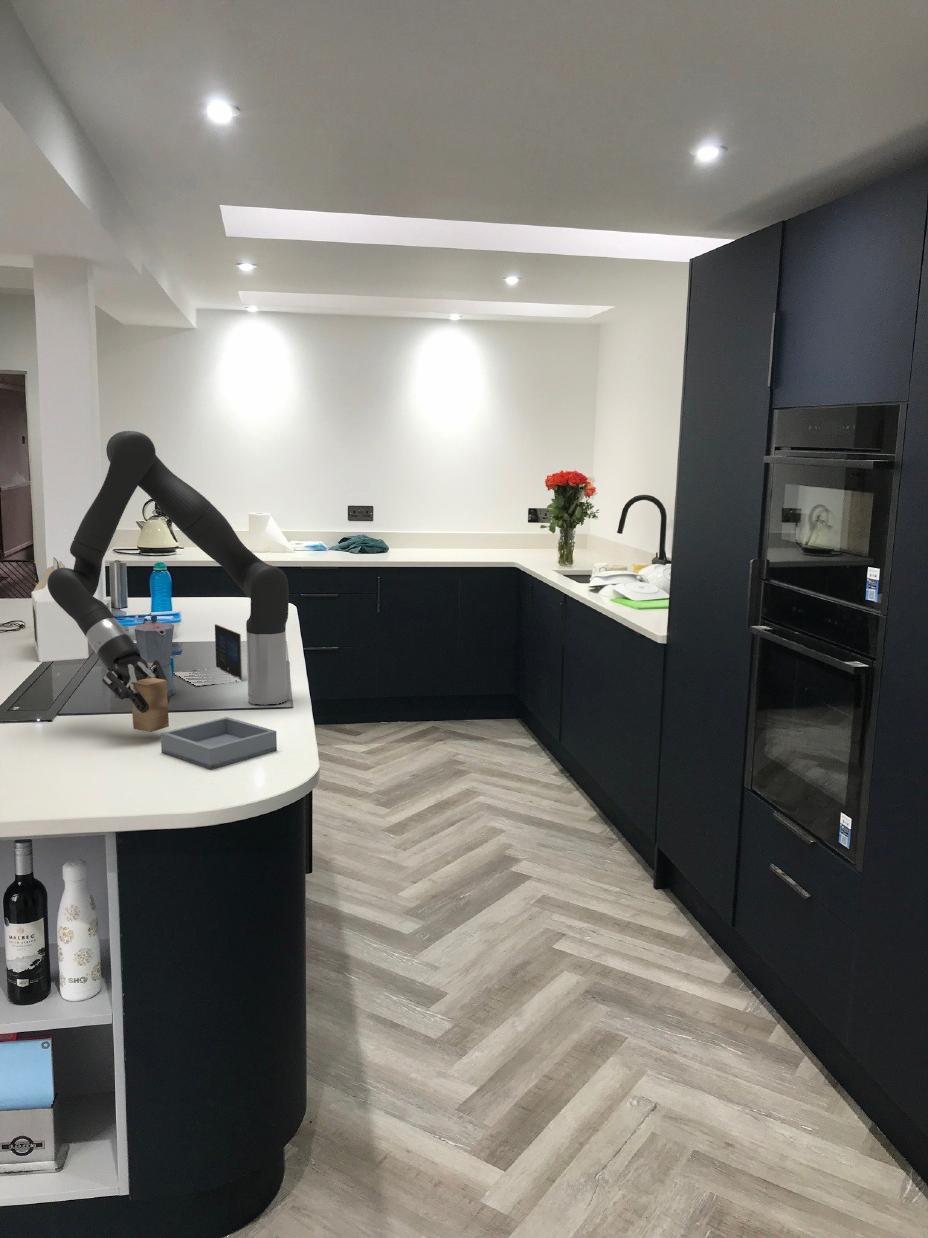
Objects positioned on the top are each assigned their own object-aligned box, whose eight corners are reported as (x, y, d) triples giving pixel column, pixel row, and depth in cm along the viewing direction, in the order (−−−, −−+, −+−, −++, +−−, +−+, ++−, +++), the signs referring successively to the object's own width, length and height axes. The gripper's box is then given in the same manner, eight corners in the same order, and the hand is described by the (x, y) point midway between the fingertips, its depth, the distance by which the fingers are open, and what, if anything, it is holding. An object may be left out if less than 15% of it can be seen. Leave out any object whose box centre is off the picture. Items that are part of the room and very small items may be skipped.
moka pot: (148, 703, 226) (144, 620, 222) (124, 691, 237) (120, 612, 234) (186, 697, 232) (183, 617, 228) (161, 685, 243) (158, 608, 240)
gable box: (88, 658, 275) (83, 562, 270) (39, 662, 269) (33, 564, 264) (81, 645, 294) (76, 555, 290) (34, 648, 288) (29, 556, 284)
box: (227, 735, 201) (226, 716, 200) (276, 750, 191) (276, 731, 190) (161, 752, 189) (160, 733, 188) (210, 769, 179) (209, 749, 178)
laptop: (172, 675, 257) (171, 628, 254) (217, 669, 264) (216, 623, 262) (196, 688, 242) (194, 638, 240) (242, 682, 249) (241, 633, 247)
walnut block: (151, 723, 201) (149, 677, 199) (168, 726, 199) (166, 680, 197) (133, 729, 197) (130, 682, 195) (150, 732, 194) (147, 685, 193)
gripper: (92, 639, 192) (137, 704, 188) (147, 627, 204) (191, 689, 200) (76, 661, 195) (120, 726, 192) (131, 649, 208) (174, 710, 204)
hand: (156, 707), depth 196 cm, fingers closed on walnut block, 5 cm apart
